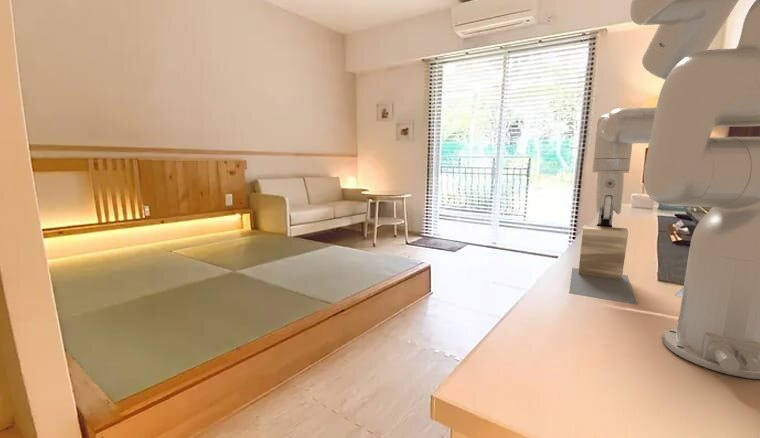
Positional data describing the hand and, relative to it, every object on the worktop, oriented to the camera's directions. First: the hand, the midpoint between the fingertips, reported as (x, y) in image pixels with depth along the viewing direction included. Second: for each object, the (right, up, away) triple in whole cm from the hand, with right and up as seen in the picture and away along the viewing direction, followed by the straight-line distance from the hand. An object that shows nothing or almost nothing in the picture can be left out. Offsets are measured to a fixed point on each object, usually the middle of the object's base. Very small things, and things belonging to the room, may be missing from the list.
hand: (602, 240), depth 88 cm
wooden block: (-1, -8, -1) cm, 9 cm away
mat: (-5, -10, -7) cm, 13 cm away
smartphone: (+14, -12, -12) cm, 22 cm away
